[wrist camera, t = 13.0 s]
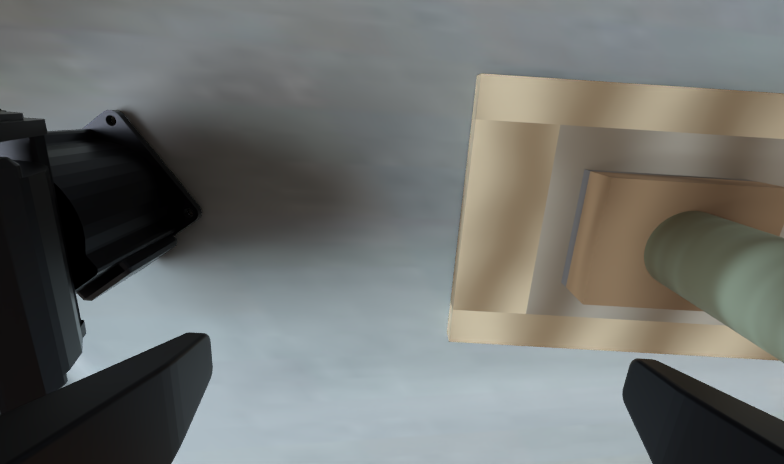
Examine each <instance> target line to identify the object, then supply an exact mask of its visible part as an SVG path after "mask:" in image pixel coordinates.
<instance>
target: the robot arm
mask: <svg viewBox="0 0 784 464" xmlns="http://www.w3.org/2000/svg"><path fill="white" fill-rule="evenodd" d="M112 116H113V117H115V119H116V124H115V125H114V124H113V123H112V121H111V118H112ZM188 208H189V209H191V210H192V211H193V216H191V215H189V214H188V212H187V209H188ZM201 214H202V211H201V208H200V206H199V205H198V204H197V203H196V201H195V200H194V199H193V198H192V197H191V195H190V194H189V193H188V192H187V190H186V189H185V188H184V187H183V186H182V184H181V183H180V182H179V181H178V180H177V178H176V177H175V176H174V175H173V174H172V172H171V171H170V170H169V169H168V167H167V166H166V165H165V164H164V163H163V161H162V160H161V159H160V158H159V157H158V155H157V154H156V153H155V152H154V151H153V149H152V148H151V147H150V146H149V144H148V143H147V142H146V141H145V140H144V138H143V137H142V136H141V135H140V134H139V132H138V131H137V130H136V129H135V128H134V126H133V125H132V124H131V123H130V121H129V120H128V119H127V118H126V117H125V115H124V114H123V113H121V112H120V111H118V110H106V111H104V112H102V113H101V114H100V115H99V116H97V117H96V118H95V119H94V120H92V121H91V122H90V123H89V124H87V125H86V126H85V127H84V128H83V129H79V130H62V131H47V129H46V124H45V119H36V118H24V117H23V113H17V112H6V111H4V110H1V109H0V464H171V463H172V461H173V459H174V458H175V456H176V454H177V452H178V450H179V448H180V446H181V444H182V442H183V440H184V438H185V436H186V433H187V431H188V429H189V427H190V424H191V422H192V420H193V417H194V415H195V413H196V411H197V408H198V406H199V404H200V402H201V399H202V397H203V395H204V393H205V390H206V388H207V386H208V383H209V381H210V379H211V375H212V369H213V366H212V354H211V342H210V338H209V336H208V335H207V334H205V333H185V334H183V335H181V336H179V337H176V338H174V339H172V340H170V341H167V342H165V343H163V344H160V345H158V346H156V347H154V348H151V349H149V350H147V351H145V352H142V353H140V354H138V355H136V356H133V357H131V358H129V359H126V360H124V361H122V362H120V363H117V364H115V365H113V366H111V367H108V368H106V369H104V370H102V371H99V372H97V373H95V374H92V375H90V376H88V377H86V378H83V379H81V380H79V381H77V382H74V383H72V384H70V385H68V386H65V387H63V386H64V385H65V384H66V382H67V381H68V379H67V374H66V373H67V372H68V371H69V370H70V369H71V367H72V366H73V364H74V363H75V362H76V360H77V359H78V357H79V356H80V355H81V353H82V342H83V337H84V336H85V334H86V328H85V323H84V320H81V318H80V313H79V308H78V303H77V298H76V294H78V295H79V296H80V297H81V298H82V299H83V300H89V301H92V300H94V299H95V298H97V297H98V296H100V295H102V294H103V293H105V292H106V291H108V290H110V289H111V288H113V287H114V286H116V285H118V284H119V283H121V282H122V281H124V280H126V279H127V278H129V277H130V276H132V275H133V274H135V273H137V272H138V271H140V270H141V269H143V268H145V267H146V266H147V265H149V264H150V263H152V262H153V261H155V260H156V259H157V258H159V257H160V256H162V255H163V254H164V253H166V252H167V251H169V250H170V249H172V248H173V247H174V246H176V244H177V239H176V238H175V237H174V236H175V235H176V234H178V233H179V232H181V231H182V230H183V229H185V228H186V227H188V226H189V225H191V224H192V223H193V222H195V221H196V220H198V219H199V218H200V217H201ZM62 387H63V388H62ZM623 400H624V403H625V406H626V408H627V410H628V412H629V414H630V416H631V419H632V421H633V423H634V425H635V427H636V429H637V431H638V433H639V436H640V438H641V440H642V442H643V444H644V446H645V448H646V451H647V453H648V455H649V457H650V459H651V461H652V463H653V464H784V421H782V420H780V419H778V418H776V417H774V416H772V415H770V414H768V413H766V412H764V411H761V410H759V409H757V408H755V407H753V406H751V405H749V404H747V403H745V402H743V401H740V400H738V399H736V398H734V397H732V396H730V395H728V394H726V393H724V392H722V391H720V390H717V389H715V388H713V387H711V386H709V385H707V384H705V383H703V382H701V381H699V380H696V379H694V378H692V377H690V376H688V375H686V374H684V373H682V372H680V371H678V370H675V369H673V368H671V367H669V366H667V365H665V364H663V363H661V362H659V361H656V360H652V359H634V360H633V361H632V362H631V364H630V366H629V370H628V373H627V377H626V380H625V384H624V387H623Z"/></svg>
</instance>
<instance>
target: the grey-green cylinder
mask: <svg viewBox="0 0 784 464" xmlns="http://www.w3.org/2000/svg"><path fill="white" fill-rule="evenodd" d="M783 225H784V187H782V186H777V185H772V184H767V183H762V182H757V181H752V180H746V179H730V178H714V177H698V176H682V175H666V174H650V173H634V172H617V171H601V170H585V169H584V174H583V179H582V184H581V189H580V193H579V198H578V203H577V208H576V213H575V218H574V223H573V227H572V232H571V237H570V242H569V247H568V252H567V256H566V261H565V266H564V271H563V276H562V281H561V283H562V284H563V285H564V286H565V287H566V288H567V289H568V290H569V291H570V292H571V293H572V294H573V295H574V296H575V297H576V298H577V299H578V300H579V301H580V302H581V303H582V304H583V305H600V306H617V307H635V308H652V309H669V310H687V311H704V312H706V313H707V314H709V315H710V316H712V317H714V318H715V319H717V320H718V321H720V322H721V323H723V324H724V325H726V326H727V327H729V328H731V329H732V330H734V331H735V332H737V333H738V334H740V335H741V336H743V337H744V338H746V339H748V340H749V341H751V342H752V343H754V344H755V345H757V346H758V347H760V348H761V349H763V350H765V351H766V352H768V353H769V354H771V355H772V356H774V357H775V358H777V359H778V360H780V361H782V362H783V363H784V238H782V237H779V236H780V233H781V231H782V228H783Z"/></svg>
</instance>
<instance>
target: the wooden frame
mask: <svg viewBox="0 0 784 464" xmlns="http://www.w3.org/2000/svg"><path fill="white" fill-rule="evenodd" d="M584 169H585V170H601V171H617V172H634V173H650V174H666V175H682V176H698V177H714V178H730V179H746V180H752V181H757V182H762V183H767V184H772V185H777V186H782V187H784V94H783V93H768V92H753V91H738V90H722V89H707V88H692V87H677V86H662V85H647V84H632V83H616V82H601V81H586V80H571V79H556V78H541V77H526V76H510V75H495V74H479V75H477V80H476V88H475V97H474V105H473V114H472V122H471V131H470V139H469V148H468V156H467V165H466V173H465V182H464V190H463V199H462V207H461V216H460V224H459V233H458V241H457V250H456V258H455V267H454V275H453V284H452V293H451V301H450V310H449V318H448V327H447V335H448V339H449V342H464V343H481V344H499V345H516V346H534V347H552V348H569V349H587V350H604V351H622V352H640V353H657V354H675V355H693V356H710V357H728V358H745V359H763V360H778V359H777V358H775V357H774V356H772V355H771V354H769V353H768V352H766V351H765V350H763V349H761V348H760V347H758V346H757V345H755V344H754V343H752V342H751V341H749V340H748V339H746V338H744V337H743V336H741V335H740V334H738V333H737V332H735V331H734V330H732V329H731V328H729V327H727V326H726V325H724V324H723V323H721V322H720V321H718V320H717V319H715V318H714V317H712V316H710V315H709V314H707V313H706V312H704V311H687V310H669V309H652V308H635V307H617V306H600V305H583V304H582V303H581V302H580V301H579V300H578V299H577V298H576V297H575V296H574V295H573V294H572V293H571V292H570V291H569V290H568V289H567V288H566V287H565V286H564V285H563V284H562V283H561V281H562V276H563V271H564V266H565V261H566V256H567V252H568V247H569V242H570V237H571V232H572V227H573V223H574V218H575V213H576V208H577V203H578V198H579V193H580V189H581V184H582V179H583V174H584ZM779 237H782V238H784V225H783V228H782V231H781V233H780V236H779Z"/></svg>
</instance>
